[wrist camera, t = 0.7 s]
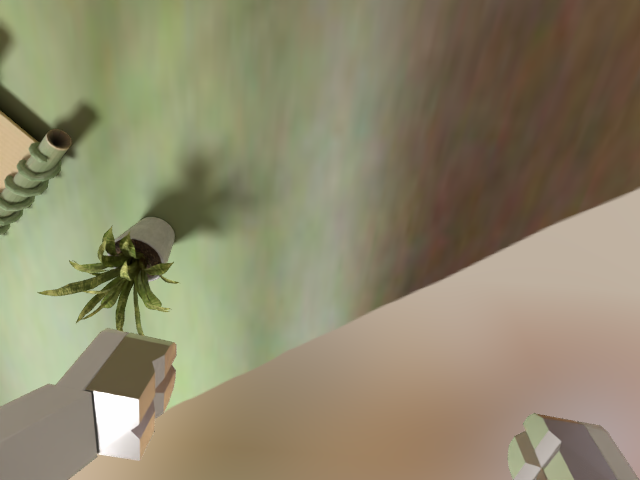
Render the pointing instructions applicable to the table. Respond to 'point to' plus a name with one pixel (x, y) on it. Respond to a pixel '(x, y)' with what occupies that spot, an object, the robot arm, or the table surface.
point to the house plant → (126, 269)
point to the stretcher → (26, 167)
